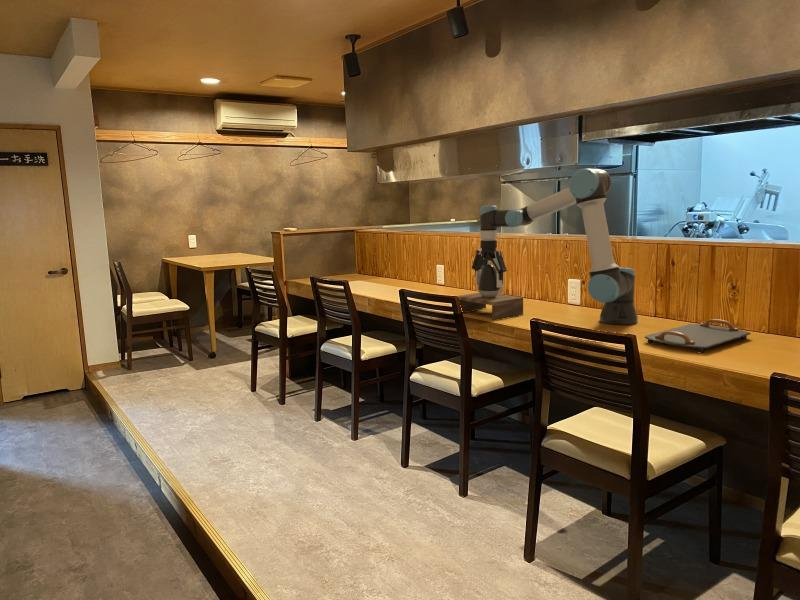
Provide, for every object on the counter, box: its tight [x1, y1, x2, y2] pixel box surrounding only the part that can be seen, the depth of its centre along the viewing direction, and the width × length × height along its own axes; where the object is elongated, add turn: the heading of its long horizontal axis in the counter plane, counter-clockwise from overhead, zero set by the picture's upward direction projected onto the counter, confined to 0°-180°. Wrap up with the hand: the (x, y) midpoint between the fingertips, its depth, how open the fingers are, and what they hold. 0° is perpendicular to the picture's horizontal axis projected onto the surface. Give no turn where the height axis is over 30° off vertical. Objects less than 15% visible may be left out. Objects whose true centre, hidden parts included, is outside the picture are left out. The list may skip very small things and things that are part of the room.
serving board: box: [644, 318, 751, 353], centre depth 218 cm, size 39×23×6 cm, turn 126°
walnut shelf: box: [456, 292, 524, 321], centre depth 280 cm, size 26×18×8 cm
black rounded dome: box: [477, 264, 500, 298], centre depth 278 cm, size 10×10×15 cm
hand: (488, 285), depth 279 cm, fingers open, 13 cm apart
